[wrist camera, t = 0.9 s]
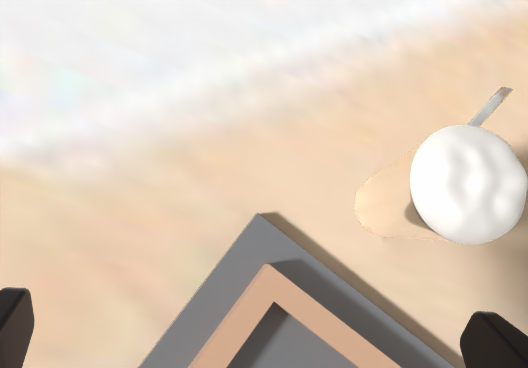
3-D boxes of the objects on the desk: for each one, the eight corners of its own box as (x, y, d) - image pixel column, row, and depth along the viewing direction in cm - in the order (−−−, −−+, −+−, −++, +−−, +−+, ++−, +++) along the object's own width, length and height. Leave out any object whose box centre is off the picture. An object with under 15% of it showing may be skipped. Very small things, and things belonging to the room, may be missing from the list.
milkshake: (424, 158, 26) (567, 100, 16) (416, 253, 25) (562, 252, 15) (347, 144, 25) (447, 74, 15) (336, 241, 24) (435, 231, 14)
